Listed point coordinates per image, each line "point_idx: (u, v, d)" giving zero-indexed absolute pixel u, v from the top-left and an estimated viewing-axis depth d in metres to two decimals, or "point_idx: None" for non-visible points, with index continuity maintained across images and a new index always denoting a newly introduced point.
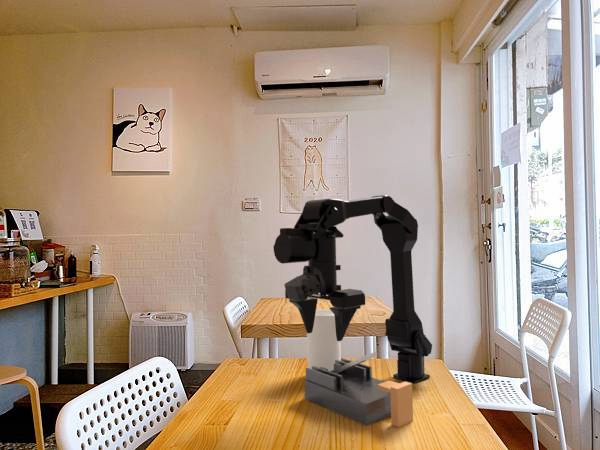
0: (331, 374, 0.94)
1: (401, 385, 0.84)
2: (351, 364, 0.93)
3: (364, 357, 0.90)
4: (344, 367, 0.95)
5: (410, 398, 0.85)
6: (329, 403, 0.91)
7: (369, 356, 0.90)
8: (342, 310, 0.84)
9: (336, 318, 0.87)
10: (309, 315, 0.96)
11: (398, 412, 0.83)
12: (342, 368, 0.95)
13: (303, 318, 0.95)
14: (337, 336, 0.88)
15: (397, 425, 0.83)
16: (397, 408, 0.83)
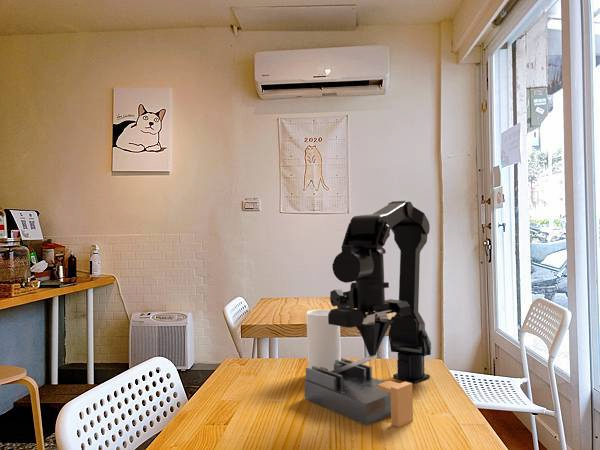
0: (331, 374, 0.94)
1: (401, 385, 0.84)
2: (351, 365, 0.93)
3: (365, 359, 0.90)
4: (344, 368, 0.95)
5: (410, 398, 0.85)
6: (329, 403, 0.91)
7: (370, 358, 0.90)
8: None
9: None
10: None
11: (398, 412, 0.83)
12: (342, 369, 0.95)
13: None
14: None
15: (397, 425, 0.83)
16: (397, 408, 0.83)
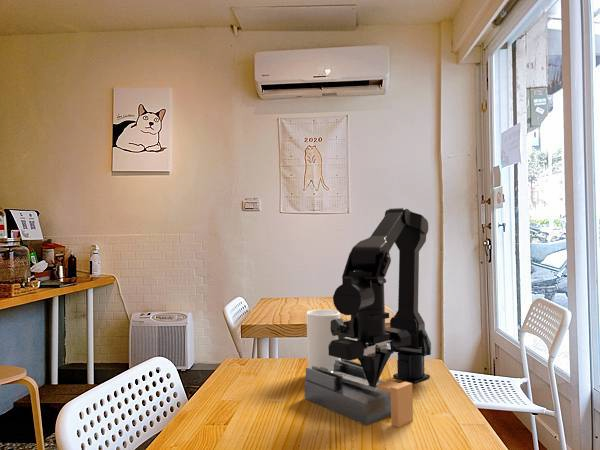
0: (331, 374, 0.94)
1: (401, 385, 0.84)
2: (355, 384, 0.92)
3: (371, 388, 0.89)
4: (347, 381, 0.94)
5: (410, 398, 0.85)
6: (329, 403, 0.91)
7: (376, 389, 0.88)
8: None
9: None
10: None
11: (398, 412, 0.83)
12: (344, 381, 0.95)
13: None
14: None
15: (397, 425, 0.83)
16: (397, 408, 0.83)
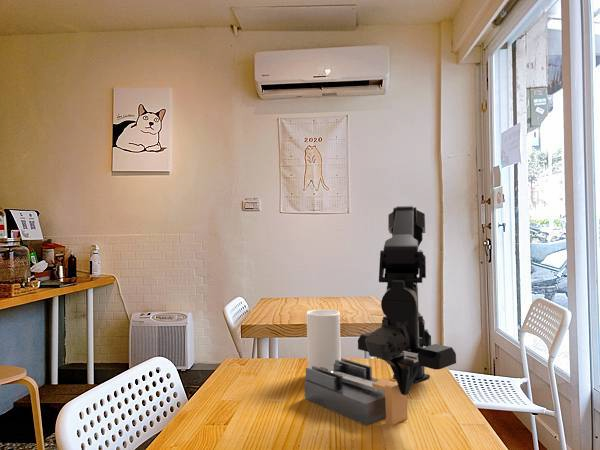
0: (331, 374, 0.94)
1: (396, 383, 0.85)
2: (355, 384, 0.92)
3: (371, 388, 0.89)
4: (347, 381, 0.94)
5: (404, 396, 0.86)
6: (329, 403, 0.91)
7: (376, 389, 0.88)
8: (412, 365, 0.80)
9: (403, 372, 0.83)
10: None
11: (392, 410, 0.84)
12: (344, 381, 0.95)
13: (397, 377, 0.84)
14: (403, 390, 0.83)
15: (391, 423, 0.84)
16: (391, 405, 0.84)
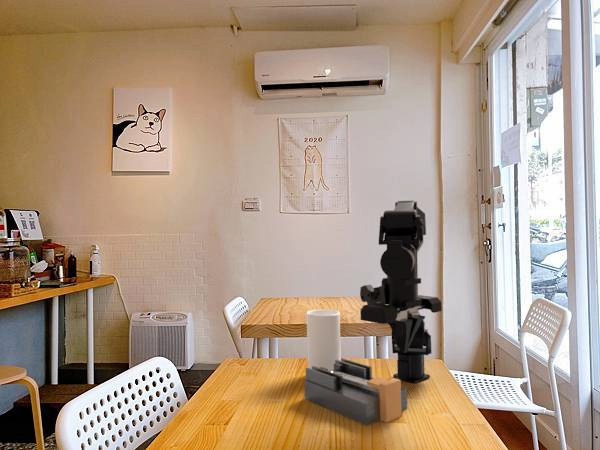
0: (331, 374, 0.94)
1: (390, 381, 0.87)
2: (355, 384, 0.92)
3: (371, 388, 0.89)
4: (347, 381, 0.94)
5: (399, 394, 0.87)
6: (329, 403, 0.91)
7: (376, 389, 0.88)
8: None
9: None
10: None
11: (386, 408, 0.85)
12: (344, 381, 0.95)
13: None
14: None
15: (386, 420, 0.85)
16: (385, 403, 0.85)
